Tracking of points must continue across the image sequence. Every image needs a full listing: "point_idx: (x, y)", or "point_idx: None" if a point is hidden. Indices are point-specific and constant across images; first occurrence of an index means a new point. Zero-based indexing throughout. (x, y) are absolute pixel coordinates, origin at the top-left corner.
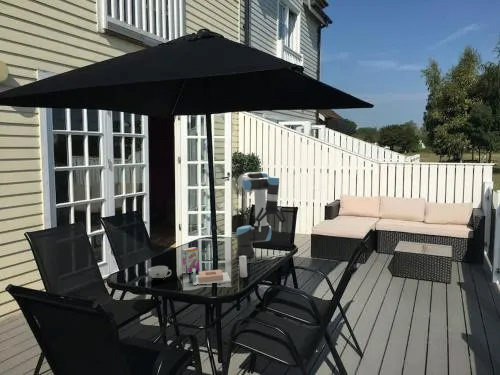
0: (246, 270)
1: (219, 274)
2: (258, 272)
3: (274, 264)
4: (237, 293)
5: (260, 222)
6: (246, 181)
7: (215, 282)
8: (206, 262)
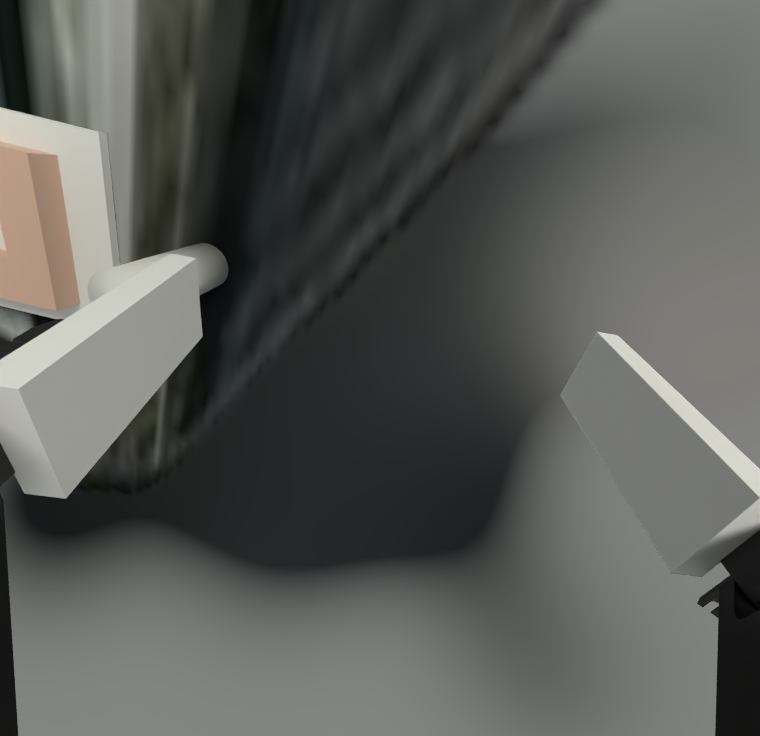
0: (204, 292)
1: (32, 282)
2: (314, 230)
3: (523, 51)
4: (150, 480)
5: (41, 486)
6: None
7: (41, 314)
8: None
